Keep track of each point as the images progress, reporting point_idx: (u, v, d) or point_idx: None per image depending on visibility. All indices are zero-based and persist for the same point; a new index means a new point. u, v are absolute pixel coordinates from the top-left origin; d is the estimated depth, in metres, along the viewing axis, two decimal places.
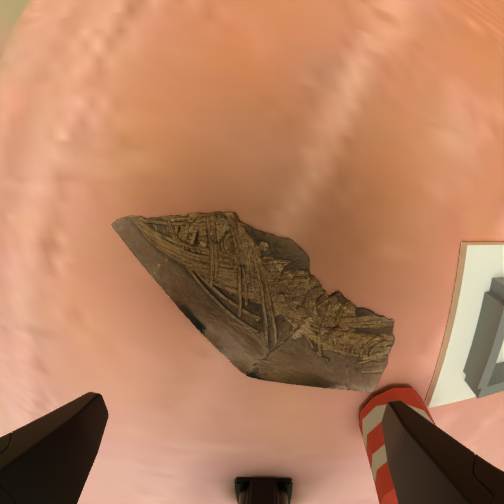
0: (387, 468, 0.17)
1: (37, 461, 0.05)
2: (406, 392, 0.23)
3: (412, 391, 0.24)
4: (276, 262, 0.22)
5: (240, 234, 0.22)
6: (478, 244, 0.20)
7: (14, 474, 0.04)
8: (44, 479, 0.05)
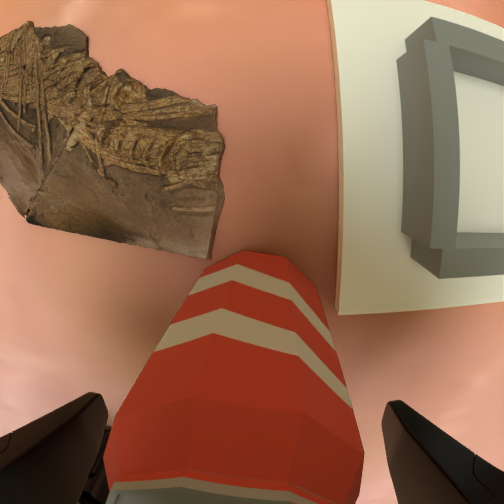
0: None
1: (37, 461, 0.05)
2: (267, 258, 0.14)
3: (284, 260, 0.14)
4: (53, 51, 0.12)
5: (28, 36, 0.12)
6: None
7: (14, 474, 0.04)
8: (44, 479, 0.05)
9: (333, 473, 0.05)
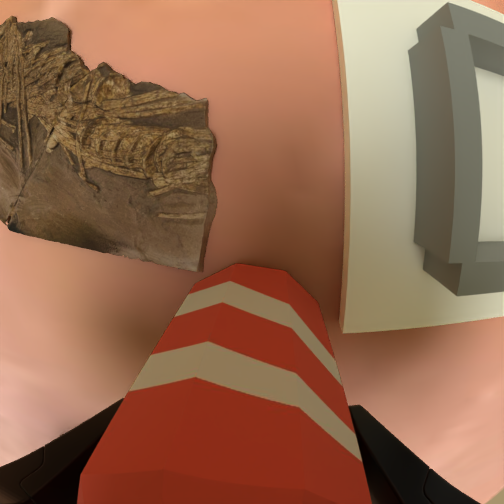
0: None
1: (74, 476, 0.05)
2: (264, 273, 0.12)
3: (283, 275, 0.12)
4: (34, 46, 0.11)
5: (10, 31, 0.10)
6: None
7: (53, 493, 0.04)
8: None
9: None
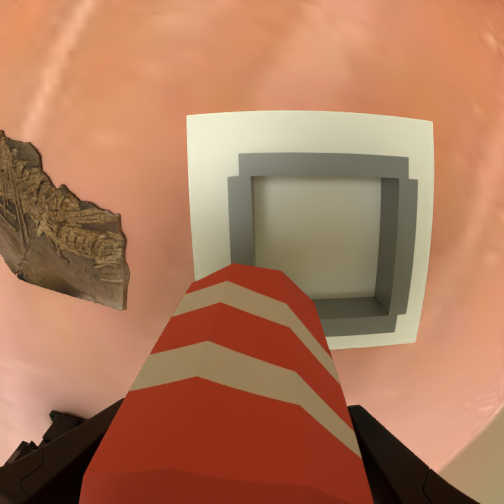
0: None
1: (74, 476, 0.05)
2: (261, 273, 0.12)
3: (279, 275, 0.12)
4: (19, 163, 0.20)
5: (1, 145, 0.19)
6: (209, 114, 0.18)
7: (53, 493, 0.04)
8: None
9: None
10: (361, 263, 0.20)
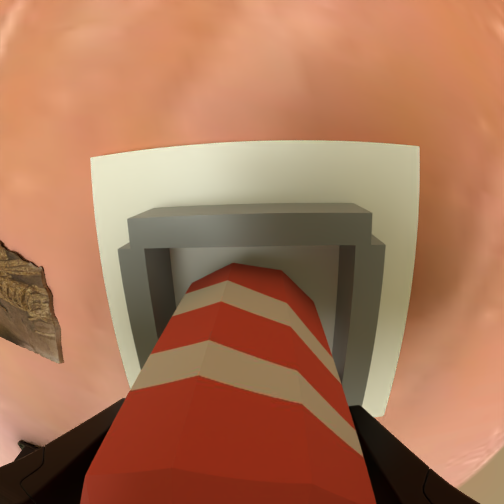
0: None
1: (74, 476, 0.05)
2: (261, 272, 0.12)
3: (279, 274, 0.12)
4: None
5: None
6: (115, 154, 0.14)
7: (53, 493, 0.04)
8: None
9: None
10: None
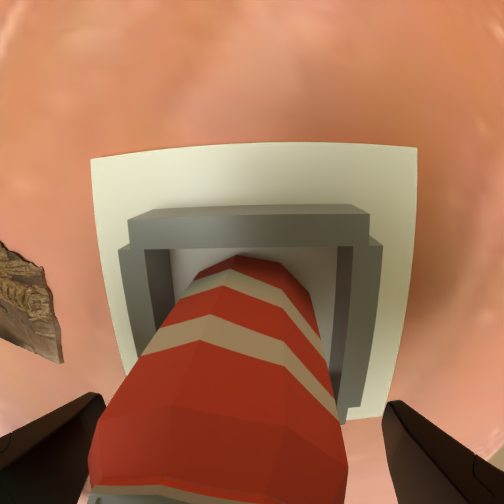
0: None
1: (37, 461, 0.05)
2: (261, 264, 0.14)
3: (277, 266, 0.14)
4: None
5: None
6: (115, 155, 0.14)
7: (14, 474, 0.04)
8: (44, 479, 0.05)
9: (314, 487, 0.04)
10: None
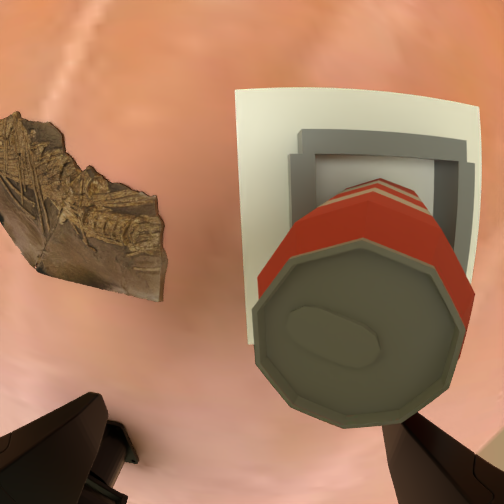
0: None
1: (37, 461, 0.05)
2: (400, 186, 0.15)
3: (412, 191, 0.15)
4: (39, 145, 0.19)
5: (18, 127, 0.18)
6: None
7: (14, 474, 0.04)
8: (44, 479, 0.05)
9: (456, 287, 0.06)
10: None
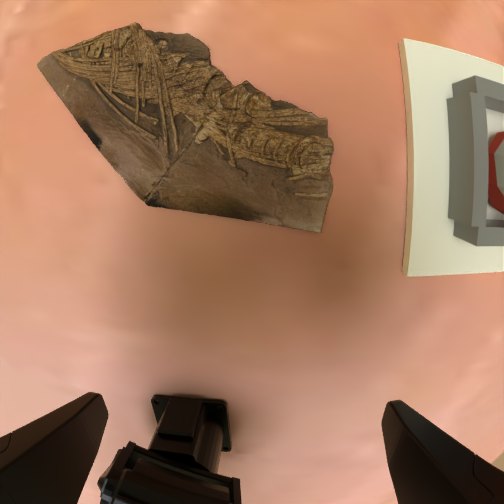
0: None
1: (36, 461, 0.05)
2: None
3: None
4: (173, 55, 0.17)
5: (139, 36, 0.17)
6: None
7: (14, 474, 0.04)
8: (44, 479, 0.05)
9: None
10: None
